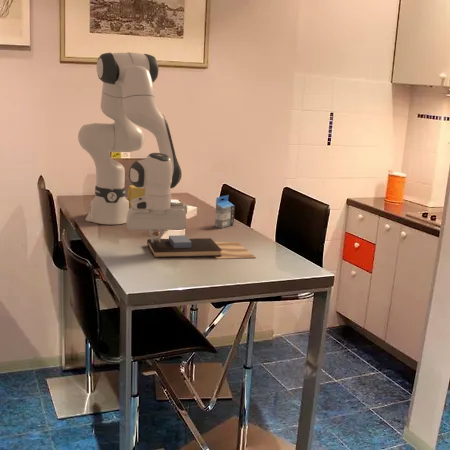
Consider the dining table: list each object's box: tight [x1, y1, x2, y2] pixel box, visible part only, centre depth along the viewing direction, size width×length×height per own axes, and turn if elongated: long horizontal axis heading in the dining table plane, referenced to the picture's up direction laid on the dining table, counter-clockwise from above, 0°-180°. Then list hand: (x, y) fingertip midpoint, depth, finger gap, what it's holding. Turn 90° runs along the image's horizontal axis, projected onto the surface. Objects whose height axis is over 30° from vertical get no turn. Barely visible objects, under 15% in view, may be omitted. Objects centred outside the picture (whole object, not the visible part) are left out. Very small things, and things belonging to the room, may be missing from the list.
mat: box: [214, 241, 256, 260], centre depth 215 cm, size 20×14×1 cm
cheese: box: [126, 184, 145, 208], centre depth 274 cm, size 10×11×10 cm
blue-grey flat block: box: [168, 234, 192, 248], centre depth 208 cm, size 9×6×2 cm, turn 17°
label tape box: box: [214, 194, 235, 229], centre depth 250 cm, size 9×4×12 cm, turn 146°
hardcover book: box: [146, 237, 222, 259], centre depth 209 cm, size 16×23×2 cm
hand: (155, 242), depth 206 cm, fingers closed
